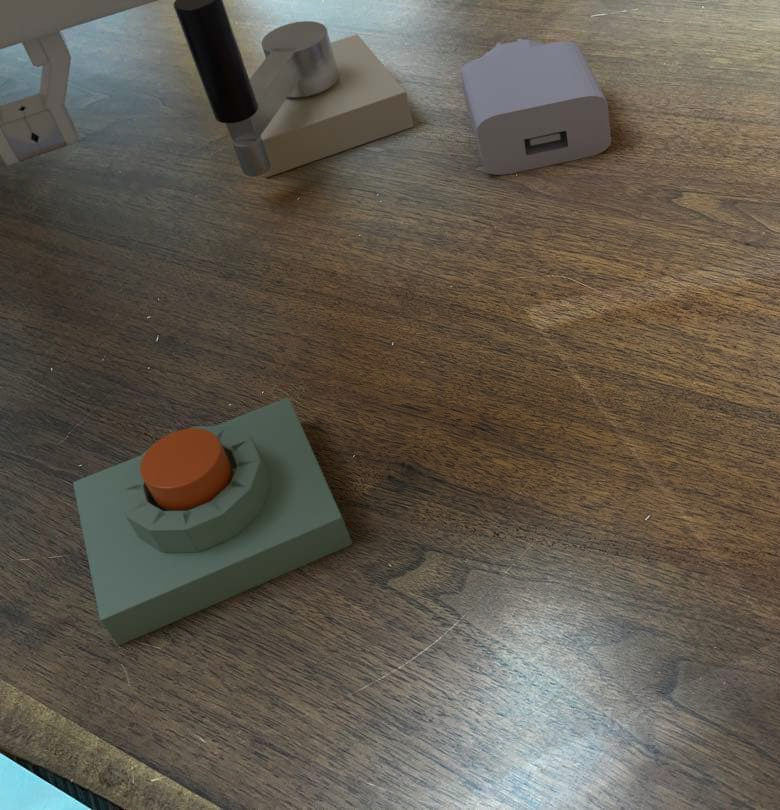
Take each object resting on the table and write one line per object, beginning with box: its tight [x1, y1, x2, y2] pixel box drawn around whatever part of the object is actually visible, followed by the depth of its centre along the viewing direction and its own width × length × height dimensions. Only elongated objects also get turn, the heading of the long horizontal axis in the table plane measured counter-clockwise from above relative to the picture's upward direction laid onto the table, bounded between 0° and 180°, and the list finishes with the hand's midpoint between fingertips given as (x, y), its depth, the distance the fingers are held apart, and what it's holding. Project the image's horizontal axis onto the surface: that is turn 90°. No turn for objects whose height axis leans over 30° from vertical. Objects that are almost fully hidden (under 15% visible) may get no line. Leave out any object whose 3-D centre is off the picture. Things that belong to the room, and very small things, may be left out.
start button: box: [140, 427, 232, 511], centre depth 54 cm, size 4×4×2 cm
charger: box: [460, 37, 612, 176], centre depth 81 cm, size 5×9×15 cm
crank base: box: [246, 33, 414, 179], centre depth 85 cm, size 12×12×3 cm
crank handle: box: [173, 0, 339, 177], centre depth 77 cm, size 15×5×12 cm, turn 168°
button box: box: [72, 396, 353, 647], centre depth 55 cm, size 12×10×4 cm
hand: (42, 148), depth 44 cm, fingers closed
